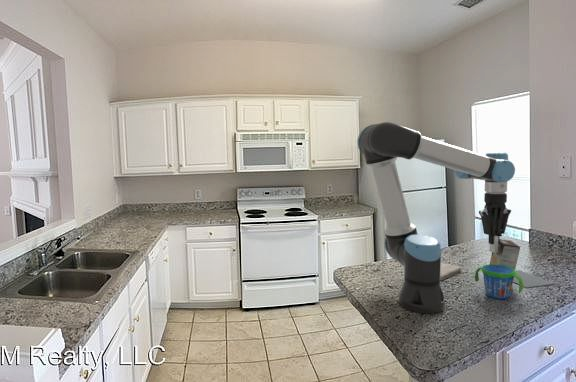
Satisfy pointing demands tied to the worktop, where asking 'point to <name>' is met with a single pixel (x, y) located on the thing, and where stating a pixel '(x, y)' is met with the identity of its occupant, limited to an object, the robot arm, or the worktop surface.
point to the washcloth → (448, 270)
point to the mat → (530, 280)
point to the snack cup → (498, 280)
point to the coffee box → (506, 254)
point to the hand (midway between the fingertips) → (493, 251)
